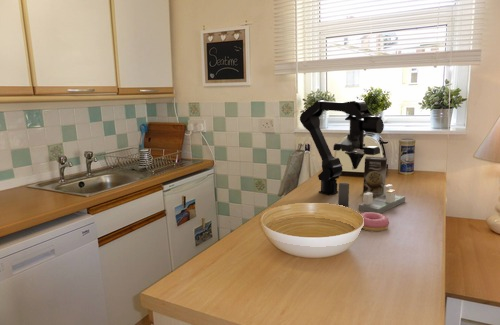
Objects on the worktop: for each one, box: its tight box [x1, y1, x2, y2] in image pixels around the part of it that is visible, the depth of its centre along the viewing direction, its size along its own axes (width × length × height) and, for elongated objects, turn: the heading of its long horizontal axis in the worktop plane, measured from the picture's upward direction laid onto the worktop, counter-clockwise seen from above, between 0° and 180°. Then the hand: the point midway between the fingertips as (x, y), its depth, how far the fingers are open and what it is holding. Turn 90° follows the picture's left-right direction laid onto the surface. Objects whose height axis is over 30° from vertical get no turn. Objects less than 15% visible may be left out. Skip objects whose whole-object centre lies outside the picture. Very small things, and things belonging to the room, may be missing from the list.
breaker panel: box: [358, 194, 406, 214], centre depth 146 cm, size 8×22×2 cm, turn 133°
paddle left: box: [362, 192, 374, 205], centre depth 142 cm, size 2×4×4 cm, turn 133°
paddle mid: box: [385, 189, 396, 203], centre depth 144 cm, size 2×4×4 cm, turn 132°
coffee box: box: [362, 155, 388, 196], centre depth 162 cm, size 9×6×16 cm
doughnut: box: [360, 211, 390, 232], centre depth 125 cm, size 11×11×4 cm
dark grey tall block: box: [337, 182, 350, 207], centre depth 146 cm, size 4×4×9 cm
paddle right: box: [384, 183, 394, 196], centre depth 153 cm, size 2×4×4 cm, turn 133°
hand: (355, 168), depth 153 cm, fingers closed
